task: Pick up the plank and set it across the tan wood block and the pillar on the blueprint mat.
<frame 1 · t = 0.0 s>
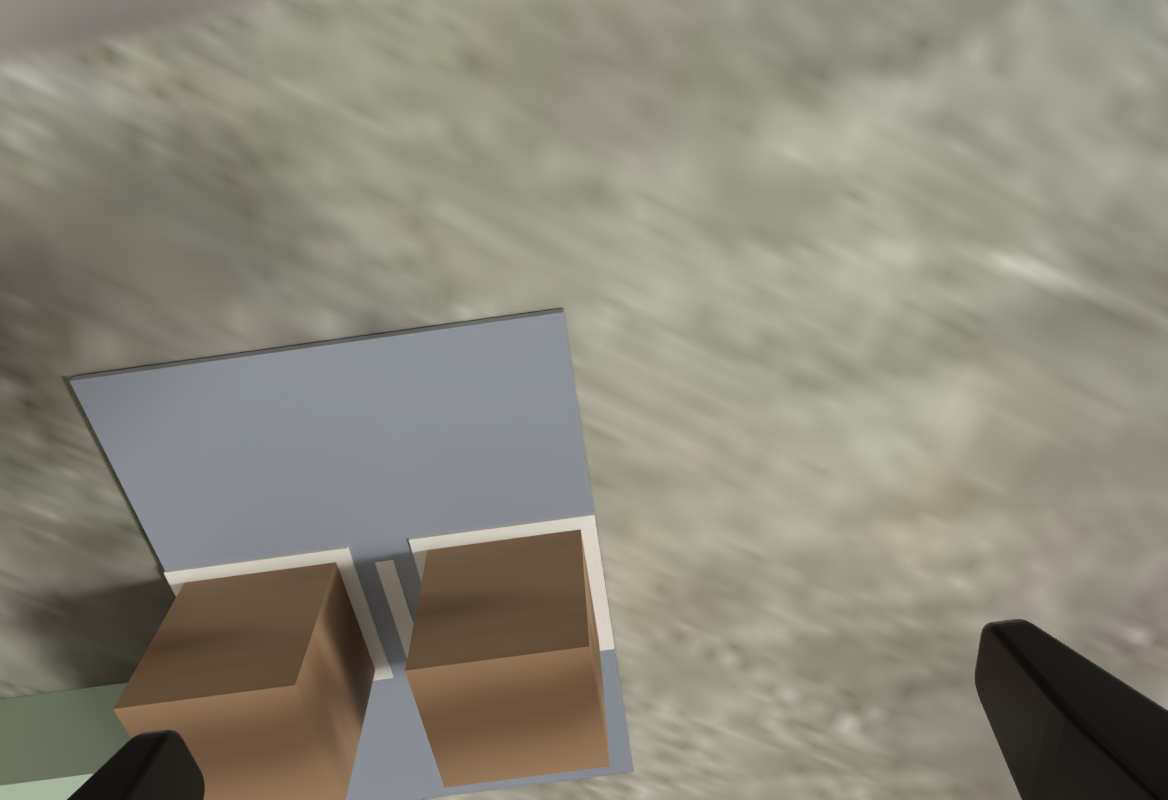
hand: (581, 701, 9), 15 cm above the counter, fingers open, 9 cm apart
blueprint mat: (402, 604, 27), on the counter
plank: (59, 726, 30), on the counter
tan wood block: (284, 628, 27), resting on blueprint mat
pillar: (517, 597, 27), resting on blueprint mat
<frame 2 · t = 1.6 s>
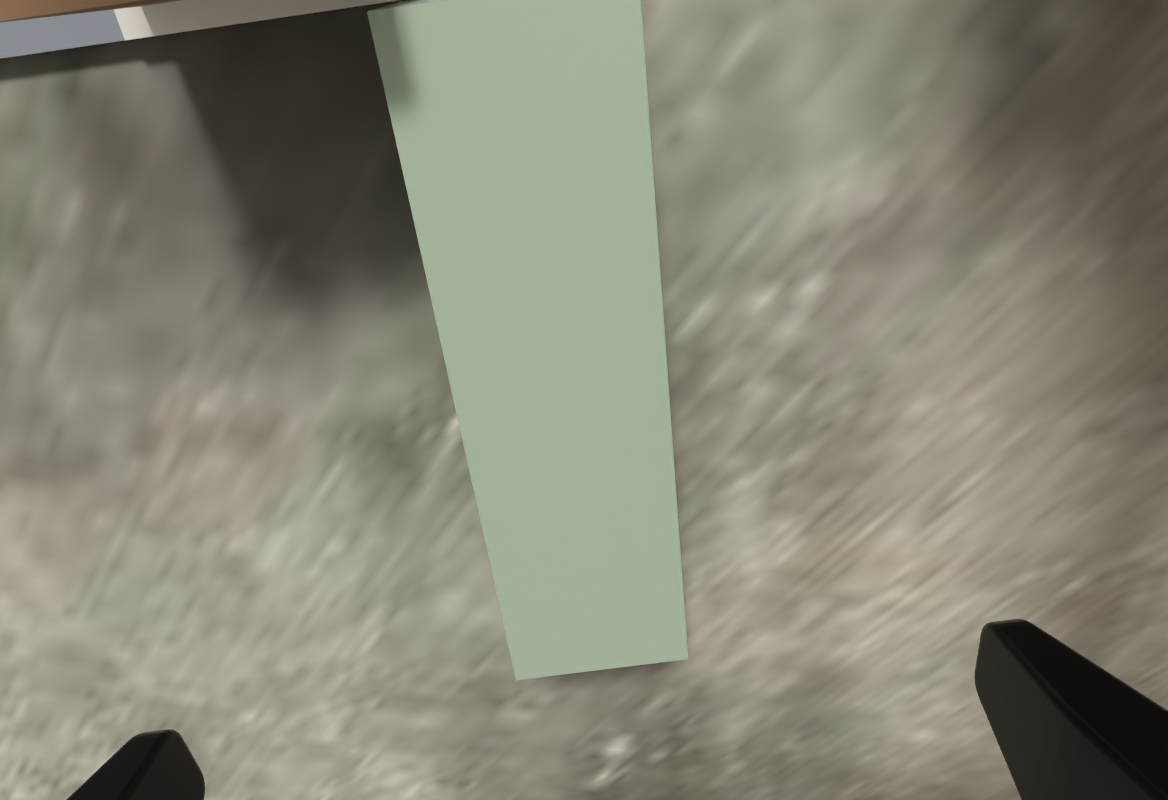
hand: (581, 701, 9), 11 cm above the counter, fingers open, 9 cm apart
plank: (558, 323, 18), on the counter
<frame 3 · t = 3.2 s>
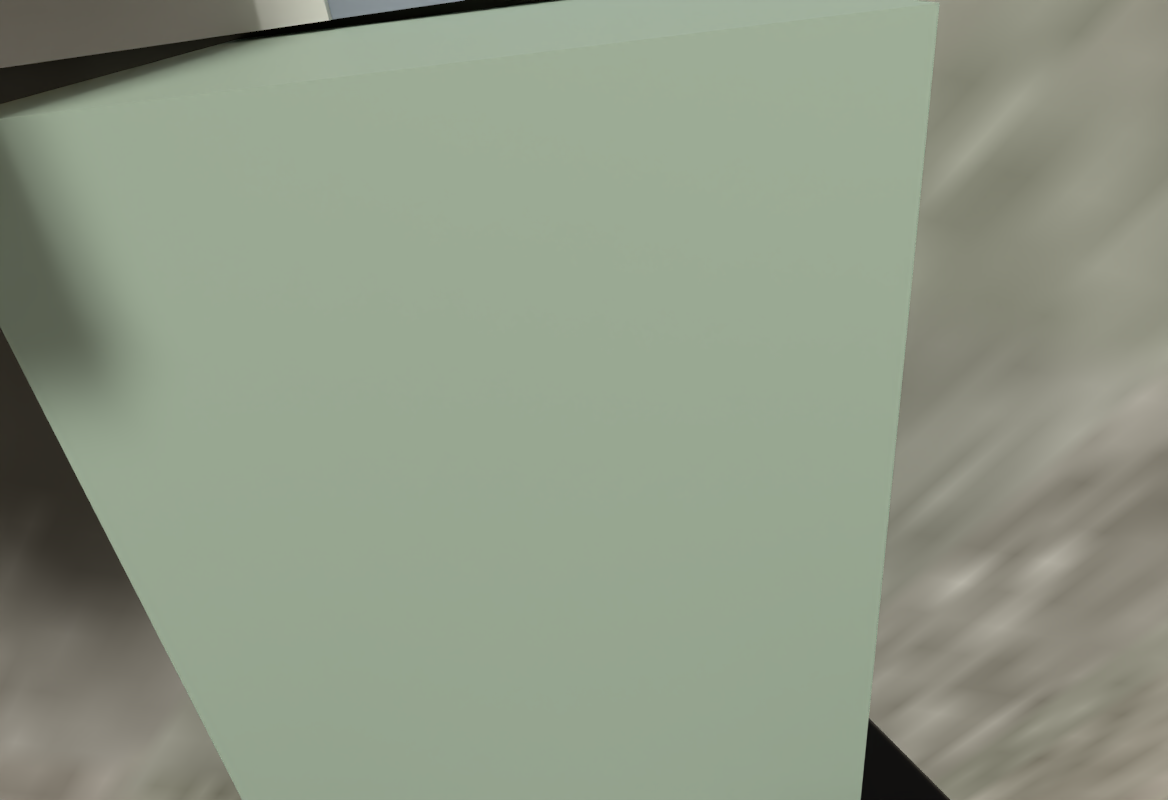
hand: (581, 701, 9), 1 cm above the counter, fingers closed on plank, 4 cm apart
plank: (577, 628, 10), on the counter, touching gripper
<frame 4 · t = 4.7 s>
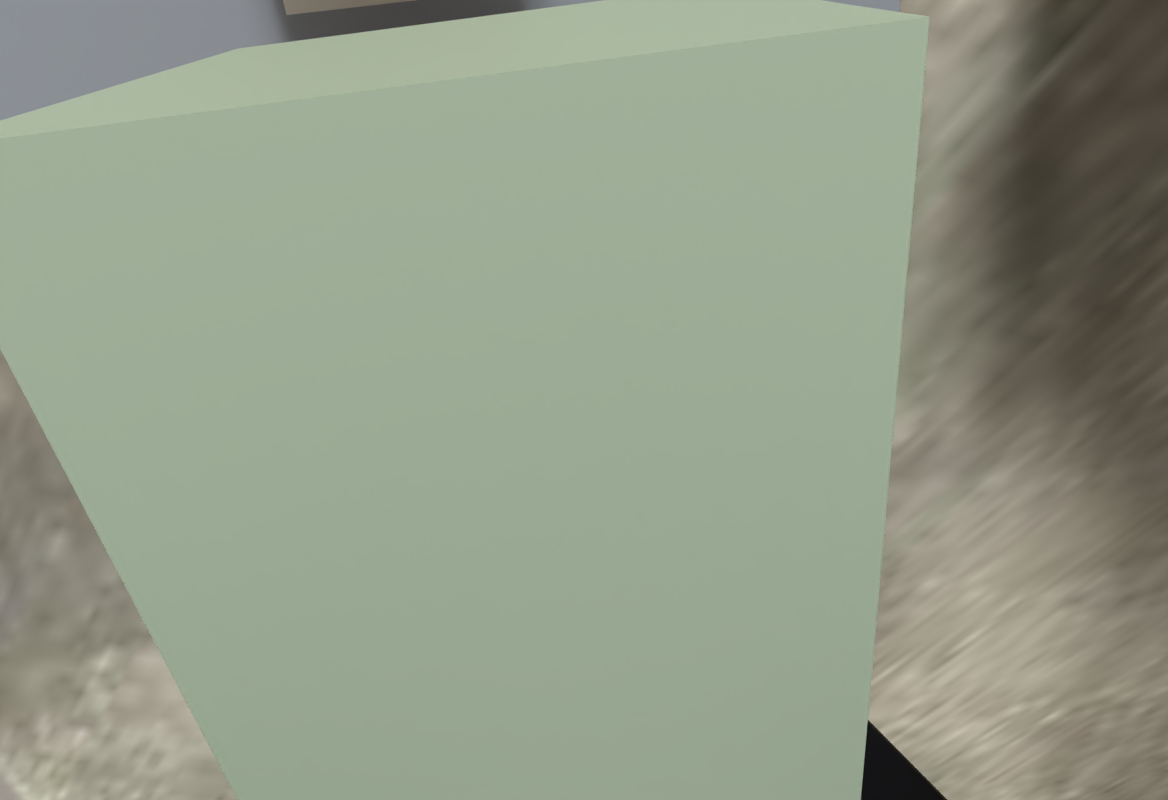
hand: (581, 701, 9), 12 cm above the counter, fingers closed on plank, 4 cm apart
plank: (578, 632, 10), point 11 cm above the counter, touching gripper
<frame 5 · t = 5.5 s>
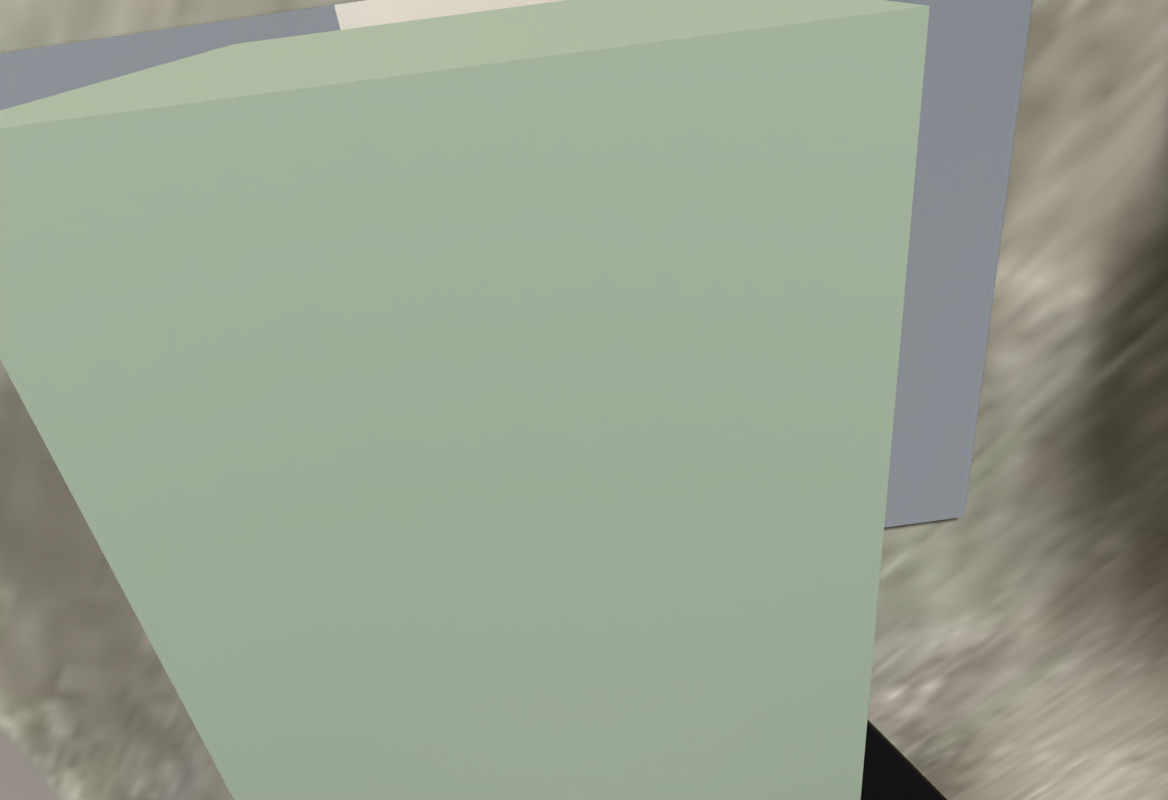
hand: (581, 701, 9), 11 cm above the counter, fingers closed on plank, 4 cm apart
blueprint mat: (553, 324, 18), on the counter
plank: (577, 631, 10), point 9 cm above the counter, touching gripper
when the fingers open (7 cm above the counter, at t = 6.3 s): plank stays where it is, resting on tan wood block, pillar.
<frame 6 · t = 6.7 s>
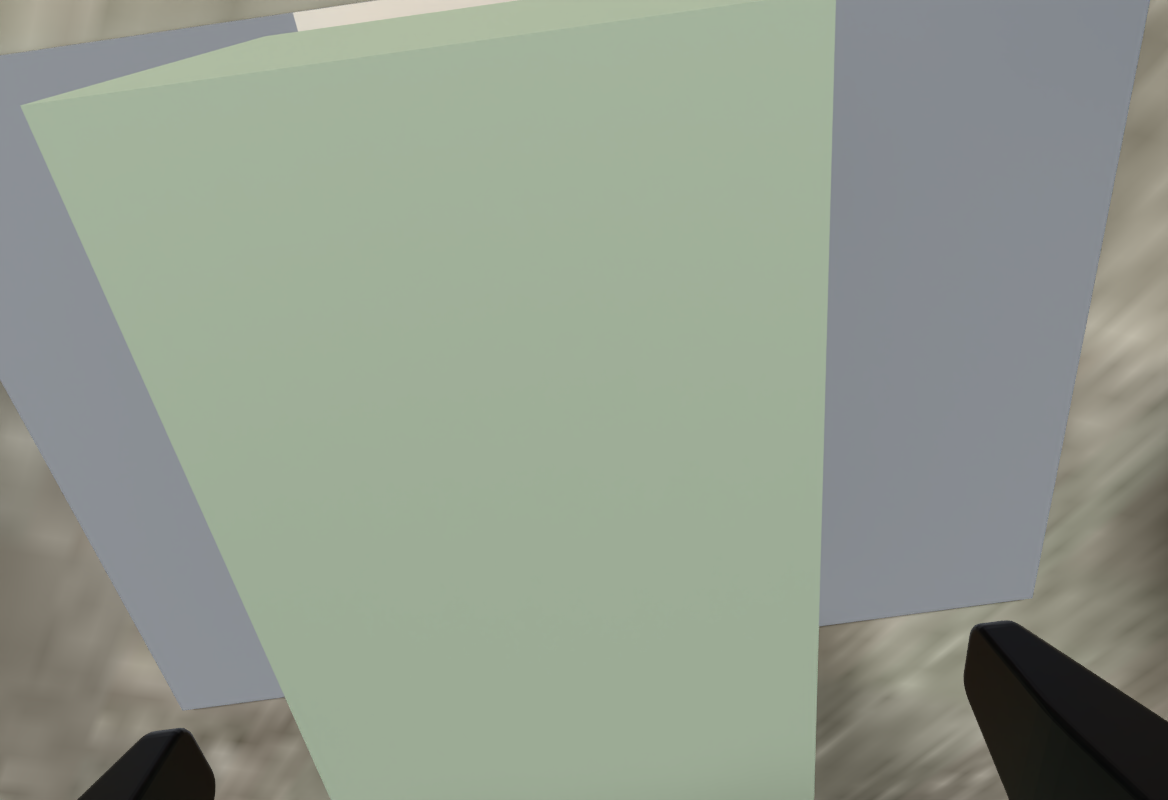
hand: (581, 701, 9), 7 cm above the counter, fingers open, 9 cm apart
blueprint mat: (560, 386, 15), on the counter
plank: (575, 579, 11), point 5 cm above the counter, touching tan wood block, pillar
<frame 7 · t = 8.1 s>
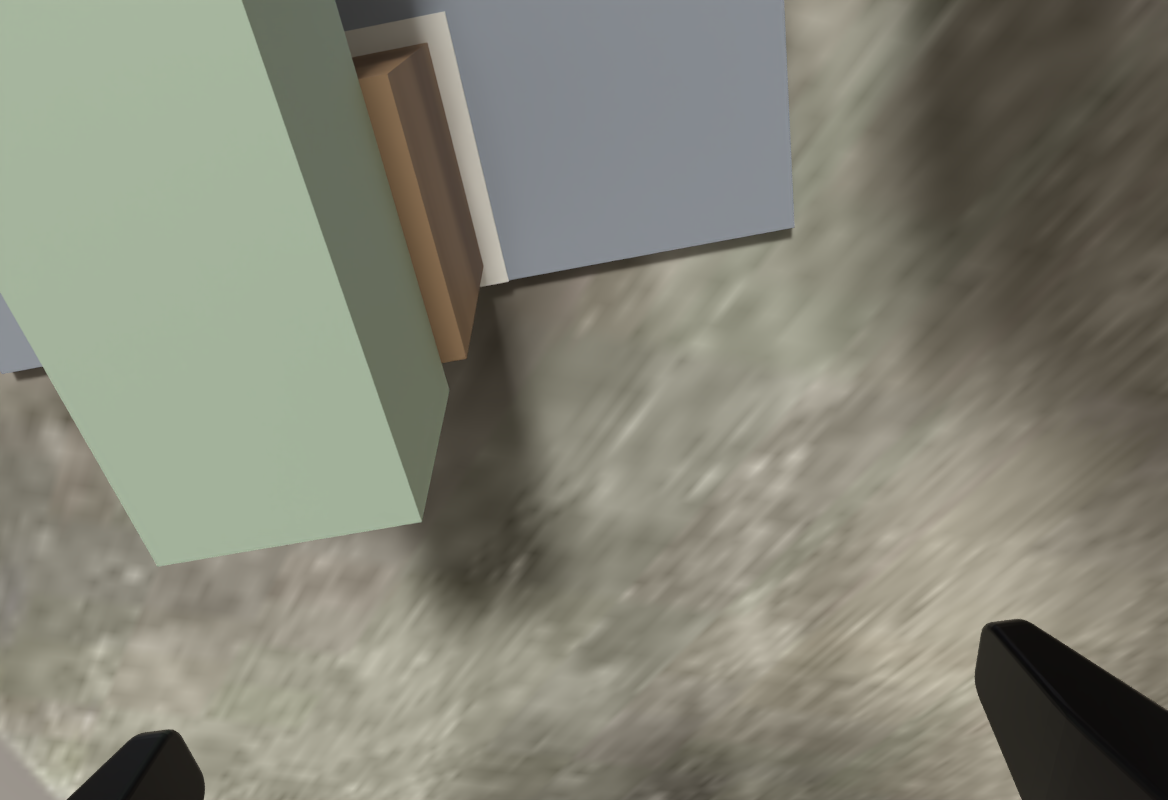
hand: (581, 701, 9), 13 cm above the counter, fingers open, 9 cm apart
plank: (196, 4, 12), point 5 cm above the counter, touching tan wood block, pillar
tan wood block: (349, 182, 18), resting on blueprint mat, touching plank
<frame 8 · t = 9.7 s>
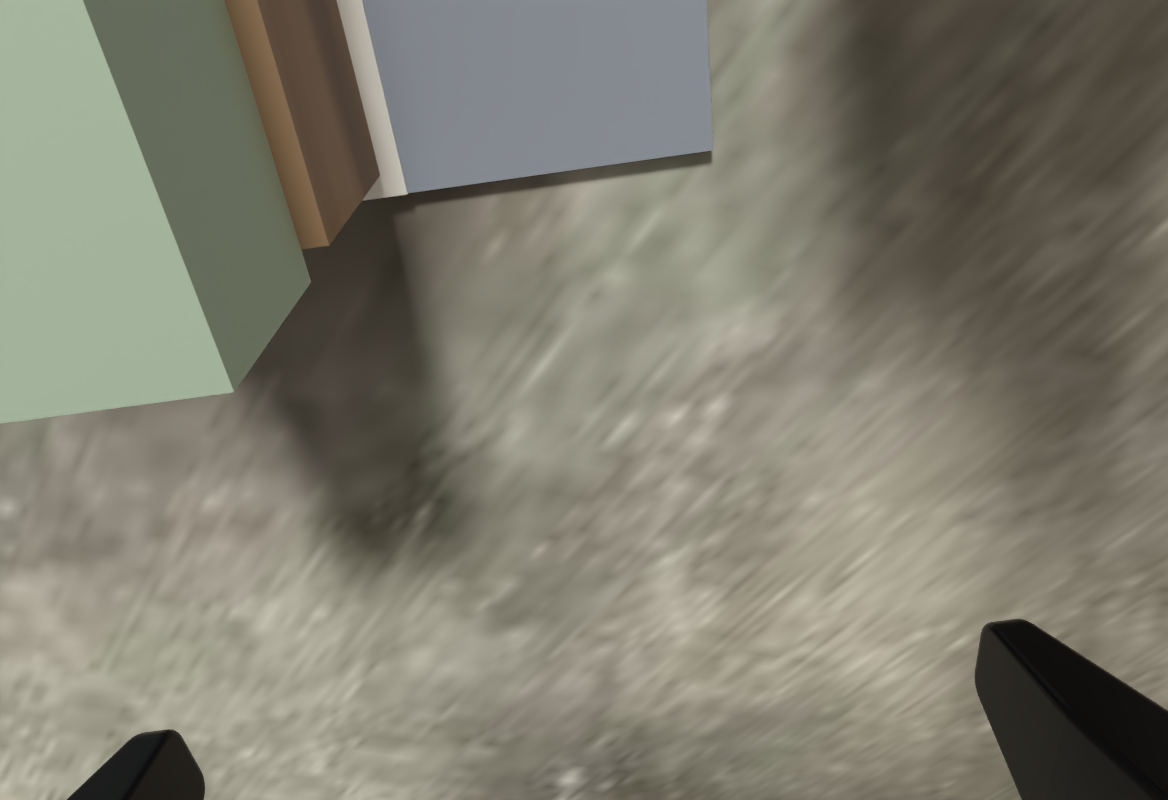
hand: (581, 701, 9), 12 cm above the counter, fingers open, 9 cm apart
tan wood block: (232, 72, 17), resting on blueprint mat, touching plank
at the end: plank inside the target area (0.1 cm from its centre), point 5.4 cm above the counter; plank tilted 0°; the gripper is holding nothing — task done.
